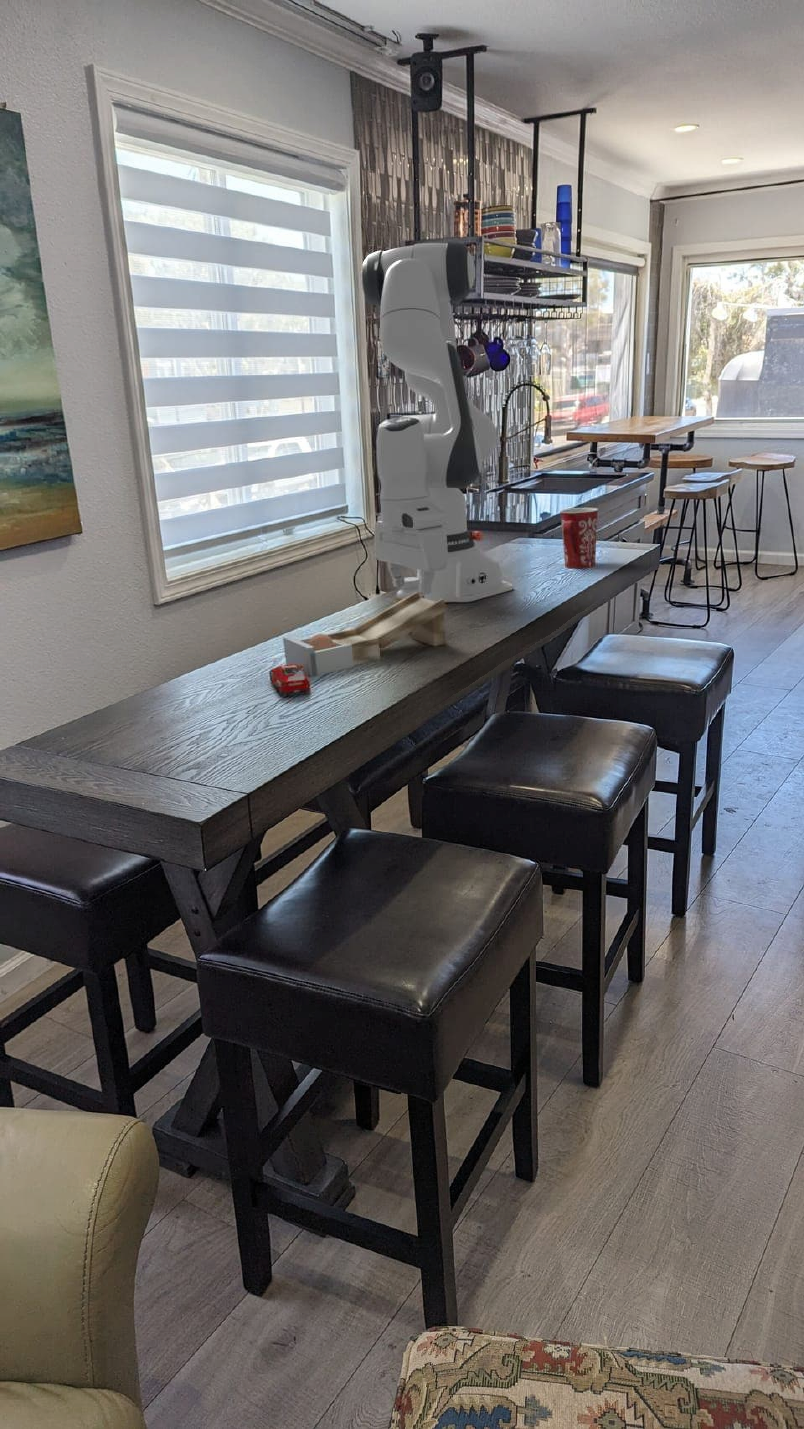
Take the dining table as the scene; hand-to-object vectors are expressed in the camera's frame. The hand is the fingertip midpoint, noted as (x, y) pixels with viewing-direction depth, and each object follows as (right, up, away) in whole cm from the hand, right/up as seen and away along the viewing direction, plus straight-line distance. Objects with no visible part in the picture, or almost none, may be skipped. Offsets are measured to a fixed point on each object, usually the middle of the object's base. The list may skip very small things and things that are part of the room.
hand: (411, 590), depth 179 cm
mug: (+41, +13, +60) cm, 74 cm away
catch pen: (-16, -14, -6) cm, 22 cm away
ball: (-16, -11, -7) cm, 20 cm away
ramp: (-4, -11, +1) cm, 12 cm away
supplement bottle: (0, -6, +15) cm, 16 cm away
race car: (-20, -18, -16) cm, 32 cm away
